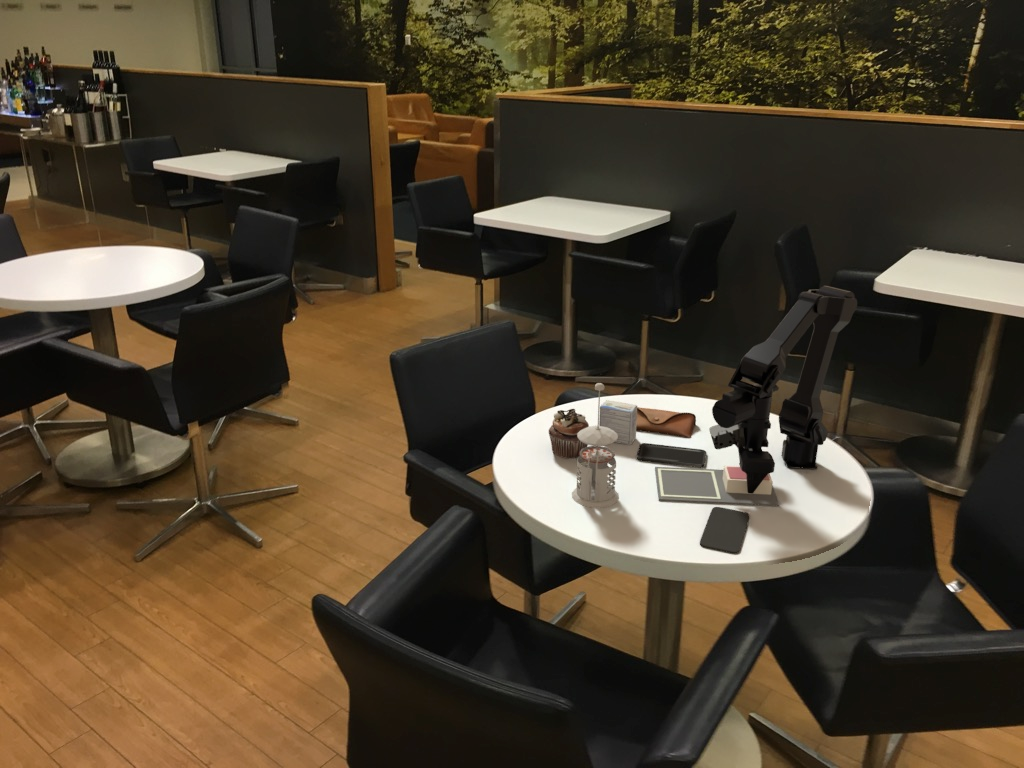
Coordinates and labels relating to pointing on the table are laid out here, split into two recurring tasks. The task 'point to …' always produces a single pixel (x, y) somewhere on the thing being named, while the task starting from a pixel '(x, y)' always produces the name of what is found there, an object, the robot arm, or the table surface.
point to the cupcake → (567, 433)
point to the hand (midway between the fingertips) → (746, 482)
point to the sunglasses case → (665, 422)
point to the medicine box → (619, 420)
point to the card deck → (743, 481)
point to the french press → (596, 466)
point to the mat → (703, 488)
